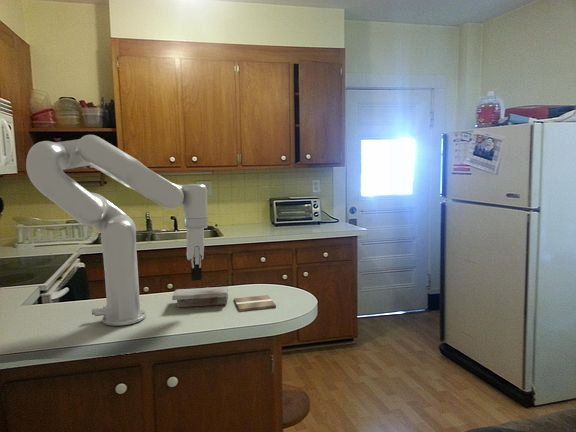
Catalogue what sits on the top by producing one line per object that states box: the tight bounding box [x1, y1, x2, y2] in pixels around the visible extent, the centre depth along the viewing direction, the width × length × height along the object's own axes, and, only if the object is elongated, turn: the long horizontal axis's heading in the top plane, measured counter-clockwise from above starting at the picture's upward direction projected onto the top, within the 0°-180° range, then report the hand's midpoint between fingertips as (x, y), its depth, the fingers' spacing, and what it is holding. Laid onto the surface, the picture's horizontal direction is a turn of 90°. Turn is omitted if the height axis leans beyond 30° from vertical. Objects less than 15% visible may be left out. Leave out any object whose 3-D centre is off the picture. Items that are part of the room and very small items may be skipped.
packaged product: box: [171, 286, 229, 308], centre depth 149 cm, size 18×5×10 cm
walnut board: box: [233, 294, 277, 312], centre depth 149 cm, size 12×12×1 cm
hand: (196, 279), depth 143 cm, fingers closed
